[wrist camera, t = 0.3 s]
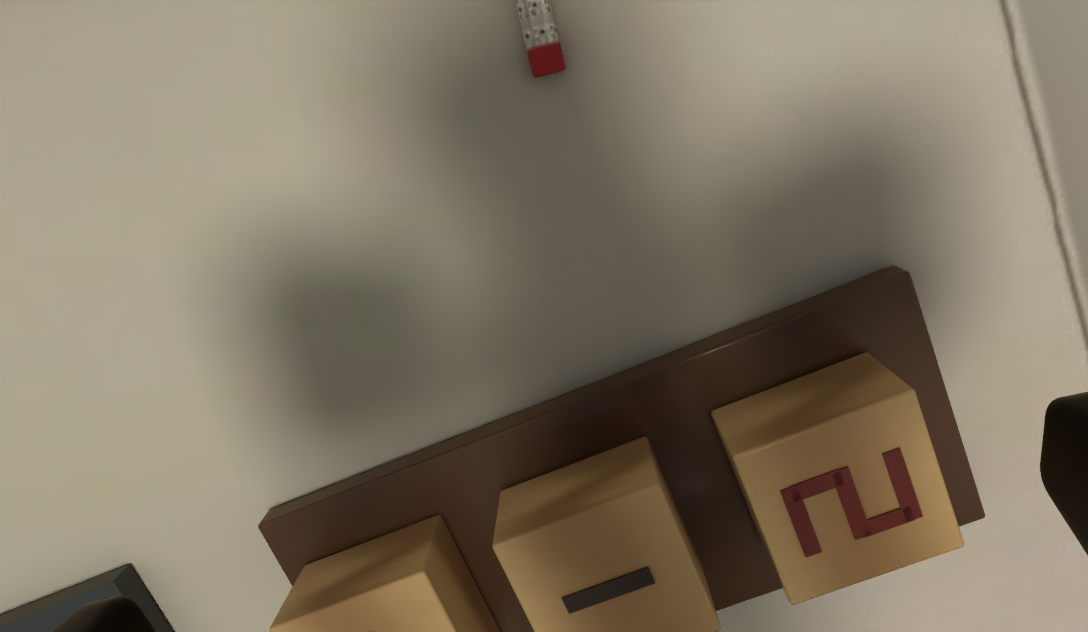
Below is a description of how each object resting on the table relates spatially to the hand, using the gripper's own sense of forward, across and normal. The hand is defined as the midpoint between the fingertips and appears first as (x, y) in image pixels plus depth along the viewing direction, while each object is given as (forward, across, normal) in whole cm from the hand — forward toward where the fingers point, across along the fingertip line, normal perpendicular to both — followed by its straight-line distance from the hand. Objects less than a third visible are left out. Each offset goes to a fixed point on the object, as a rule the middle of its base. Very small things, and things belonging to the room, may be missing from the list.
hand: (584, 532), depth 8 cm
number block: (+12, -6, +10) cm, 16 cm away
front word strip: (+13, 0, +11) cm, 17 cm away
